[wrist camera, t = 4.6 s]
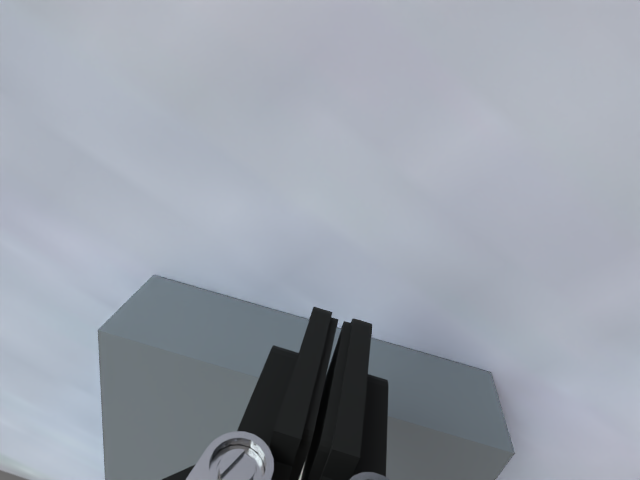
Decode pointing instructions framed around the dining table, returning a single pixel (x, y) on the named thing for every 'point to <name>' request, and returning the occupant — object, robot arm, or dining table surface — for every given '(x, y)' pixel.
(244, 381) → the grey flat block
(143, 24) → the dining table surface
